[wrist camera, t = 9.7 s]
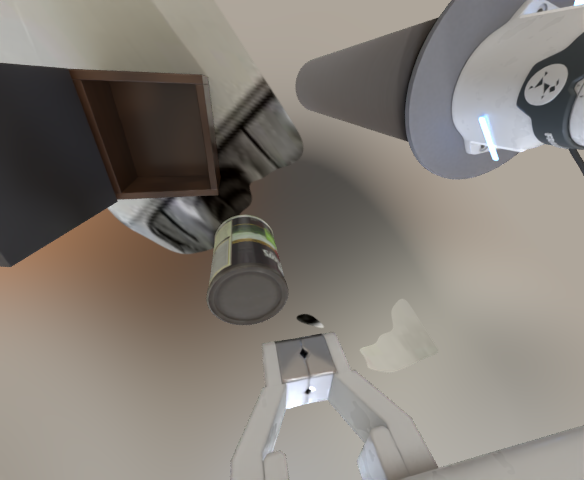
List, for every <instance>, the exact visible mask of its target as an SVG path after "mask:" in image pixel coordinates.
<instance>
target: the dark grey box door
mask: <svg viewBox="0 0 584 480" xmlns="http://www.w3.org/2000/svg"><path fill="white" fill-rule="evenodd" d="M116 202H117V198H116V196H115V193H114V190H113V188H112V185H111V182H110V180H109V177H108V174H107V172H106V169H105V166H104V164H103V161H102V158H101V156H100V153H99V150H98V148H97V145H96V142H95V140H94V137H93V134H92V132H91V129H90V126H89V124H88V121H87V118H86V115H85V113H84V110H83V107H82V105H81V102H80V99H79V97H78V94H77V91H76V89H75V86H74V83H73V81H72V78H71V75H70V73H69V70H68V69H67V68H55V67H43V66H31V65H19V64H8V63H0V266H1V267H2V266H3V267H12V266H13V265H15V264H16V263H18V262H20V261H21V260H23V259H25V258H26V257H28V256H29V255H31V254H33V253H34V252H36V251H38V250H39V249H41V248H43V247H44V246H46V245H47V244H49V243H51V242H52V241H54V240H56V239H57V238H59V237H60V236H62V235H64V234H65V233H67V232H69V231H70V230H72V229H73V228H75V227H77V226H78V225H80V224H81V223H83V222H85V221H87V220H88V219H90V218H91V217H93V216H94V215H96V214H98V213H100V212H101V211H103V210H104V209H106V208H108V207H109V206H111V205H113V204H114V203H116Z"/></svg>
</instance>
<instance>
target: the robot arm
mask: <svg viewBox="0 0 584 480" xmlns="http://www.w3.org/2000/svg"><path fill="white" fill-rule="evenodd" d="M452 118H453V122H454V125H455V127H456V129H457V130H458V132H459V133H460V134H461V135H462V137H463V139H464V144H465V150H466V152H467V153H468V154H473V155H475V154H480V153H484V152H488V151H490V152H491V155H492V158H493V160H496V161H497V160H498V156H497V153H496V150H497V149H506V150H512V151H518V152H523V151H525V150H526V149H531V148H535V147H538V146H541V145H544V144H548V145H554V146H556V147H560V148H566V149H569V151H570V153H571V154H572V156H573V158H574V160H575V161H576V163H577V164H578V166H579V168H580V169H581V171H582V173H583V175H584V162H583V160H582V158H581V157H580V155H579V153H578V152H577V150H576V149H581V150H583V149H584V0H575V3H574V6H569V7H564V8H559V7H557V6H555V5H554V4H552V3H550V2H548V1H546V0H527V1H525V2H524V3H523V4H522V5H521V7H520V8H519V9H518V10H517V11H516V12H515V14H514V15H513V16H512V17H511V19H510V20H509V21H508V22H507V23H506V24H504V25H503V26H502V27H500V28H499V29H497V30H496V31H494V32H493V33H492V34H490V35H489V36H488V37H487V38H486V39H485V40H484V41H483V42H482V43H481V44H480V45H479V46H478V47H477V48H476V49H475V51H474V52H473V53H472V55H471V56H470V58H469V59H468V61H467V62H466V64H465V66H464V67H463V69H462V71H461V73H460V76H459V78H458V81H457V83H456V86H455V90H454V94H453V99H452ZM262 357H263V372H264V381H265V387H263V388H262V390H261V393H260V395H259V397H258V400H257V402H256V404H255V406H254V409H253V411H252V413H251V416H250V418H249V420H248V423H247V425H246V427H245V429H244V432H243V434H242V436H241V438H240V441H239V443H238V445H237V448H236V450H235V452H234V455H233V457H232V459H231V470H230V473H231V476H230V480H289V473H288V467H287V461H286V455H285V454H284V453H283V452H281V451H277V452H273V450H274V447H275V443H276V440H277V437H278V434H279V431H280V427H281V424H282V421H283V418H284V414H285V411H286V409H287V408H291V407H295V406H299V405H303V404H307V403H312V402H318V401H324V400H328V401H329V403H330V404H331V405H332V406H333V407H334V408H335V410H336V411H337V412H338V413H339V414H340V415H341V416H342V418H343V419H344V420H345V421H346V422H347V423H348V425H349V426H350V427H351V428H352V429H353V430H354V431H355V433H356V434H357V435H358V436H359V437H360V439H361V440H362V441H363V442H364V443H365V444H364V446H363V448H362V450H361V453H360V455H359V457H358V459H357V464H358V467H359V471H360V474H361V477H362V480H584V425H583V426H580V427H576V428H573V429H569V430H566V431H563V432H560V433H556V434H552V435H549V436H546V437H542V438H539V439H535V440H532V441H529V442H526V443H522V444H518V445H515V446H512V447H508V448H505V449H501V450H498V451H495V452H491V453H488V454H485V455H481V456H478V457H474V458H471V459H467V460H464V461H460V462H457V463H454V464H451V465H447V466H443V467H440V468H438V466H437V464H436V462H435V460H434V459H433V457H432V455H431V453H430V451H429V449H428V447H427V445H426V444H425V442H424V440H423V438H422V436H421V434H420V432H419V431H418V429H417V427H416V425H415V423H414V421H413V419H412V418H411V417H410V416H409V415H408V414H407V413H405V412H404V411H403V410H402V409H401V408H399V407H398V406H397V405H396V404H395V403H394V402H393V401H391V400H390V399H389V398H388V397H386V396H385V395H384V394H383V393H382V392H381V391H379V390H378V389H377V388H376V387H375V386H373V385H372V384H371V383H370V382H369V381H368V380H366V379H365V378H364V377H363V376H362V375H360V374H359V373H358V372H357V371H356V370H351V368H350V366H349V364H348V361H347V359H346V356H345V354H344V352H343V349H342V347H341V344H340V342H339V340H338V337H337V335H336V334H335V333H334V332H330V333H325V334H317V335H311V336H306V337H301V338H296V339H289V340H282V341H276V342H268V343H263V344H262Z"/></svg>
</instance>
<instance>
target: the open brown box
mask: <svg viewBox="0 0 584 480" xmlns="http://www.w3.org/2000/svg"><path fill="white" fill-rule="evenodd" d="M68 70H69V73H70V75H71V78H72V81H73V83H74V86H75V89H76V91H77V94H78V97H79V99H80V102H81V105H82V107H83V110H84V113H85V115H86V118H87V121H88V124H89V126H90V129H91V132H92V134H93V137H94V140H95V142H96V145H97V148H98V150H99V153H100V156H101V158H102V161H103V164H104V166H105V169H106V172H107V174H108V177H109V180H110V182H111V185H112V188H113V190H114V193H115V196H116V198H117V200H119V199H141V198H164V197H186V196H209V195H218V194H219V187H220V179H221V176H220V169H219V161H218V153H217V145H216V137H215V129H214V121H213V113H212V105H211V97H210V89H209V81H208V77H207V76H204V75H198V74H175V73H152V72H130V71H107V70H84V69H68Z"/></svg>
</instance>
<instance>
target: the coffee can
mask: <svg viewBox="0 0 584 480" xmlns="http://www.w3.org/2000/svg"><path fill="white" fill-rule="evenodd" d="M287 298H288V287H287V283H286V281H285V279H284V275H283V272H282V268H281V264H280V260H279V256H278V253H277V249H276V245H275V241H274V236H273V232H272V230H271V228H270V226H269V225H268V224H267V223H266V222H265V221H264V220H262V219H260V218H258V217H256V216H252V215H238V216H234V217H231V218H229V219H227V220H226V221H224V222H223V223H222V224H221V225H220V227H219V228H218V230H217V232H216V234H215V245H214V252H213V260H212V268H211V275H210V284H209V288H208V291H207V304H208V307H209V309H210V311H211V312H212V313H213V314H214V315H215V316H216V317H217V318H219V319H220V320H222V321H224V322H227V323H231V324H236V325H252V324H257V323H260V322H263V321H265V320H268V319H270V318H271V317H273V316H274V315H276V314H277V313H278V312H279V311H280V310H281V309H282V308H283V306H284V305H285V303H286V300H287Z"/></svg>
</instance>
